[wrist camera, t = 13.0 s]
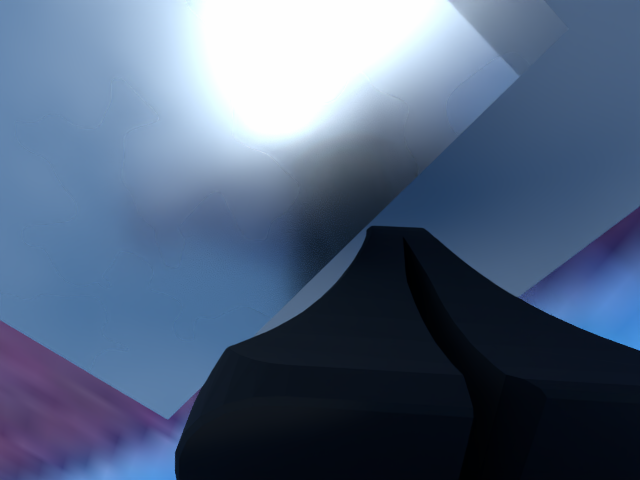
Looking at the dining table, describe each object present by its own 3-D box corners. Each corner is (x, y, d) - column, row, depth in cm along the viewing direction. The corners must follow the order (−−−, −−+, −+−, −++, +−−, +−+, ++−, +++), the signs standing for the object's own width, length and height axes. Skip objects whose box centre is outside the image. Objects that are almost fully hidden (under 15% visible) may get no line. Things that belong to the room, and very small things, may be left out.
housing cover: (170, -302, 9) (-71, -706, 4) (469, 17, 11) (568, 28, 6) (-19, 99, 13) (-264, 162, 8) (230, 278, 15) (167, 419, 10)
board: (229, -491, 9) (203, -590, 7) (722, 120, 13) (768, 135, 11) (-59, 146, 15) (-103, 161, 13) (340, 415, 19) (339, 448, 18)
